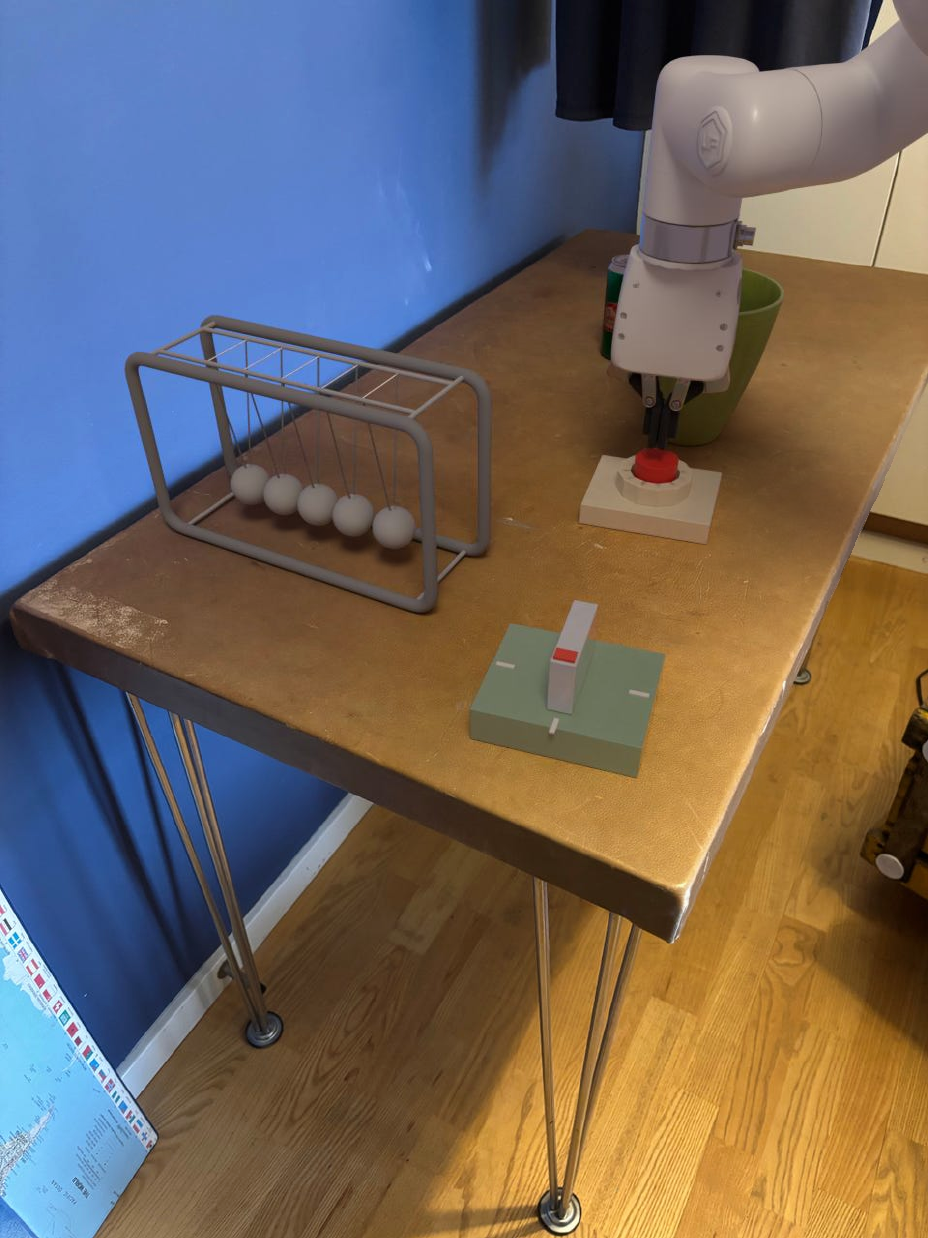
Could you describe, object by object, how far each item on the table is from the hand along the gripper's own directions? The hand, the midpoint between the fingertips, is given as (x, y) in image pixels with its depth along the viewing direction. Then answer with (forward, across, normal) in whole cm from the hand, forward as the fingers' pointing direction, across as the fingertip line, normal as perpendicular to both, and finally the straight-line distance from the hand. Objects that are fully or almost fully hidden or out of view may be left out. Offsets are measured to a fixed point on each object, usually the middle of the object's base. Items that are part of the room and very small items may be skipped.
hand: (658, 442), depth 85 cm
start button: (+3, 0, 0) cm, 3 cm away
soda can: (+7, +10, -36) cm, 38 cm away
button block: (+7, 0, 0) cm, 7 cm away
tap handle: (+4, +1, +30) cm, 30 cm away
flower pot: (+7, -1, -17) cm, 18 cm away
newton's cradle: (+7, +28, +16) cm, 33 cm away
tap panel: (+7, +1, +30) cm, 31 cm away
